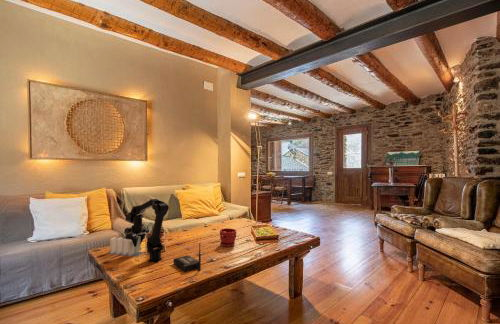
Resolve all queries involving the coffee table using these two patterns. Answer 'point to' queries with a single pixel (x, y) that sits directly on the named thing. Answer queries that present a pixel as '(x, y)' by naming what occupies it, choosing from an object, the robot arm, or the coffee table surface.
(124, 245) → the domino
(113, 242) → the end domino
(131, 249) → the domino
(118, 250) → the domino
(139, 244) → the sage domino
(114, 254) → the mat
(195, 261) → the black wifi router
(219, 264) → the coffee table surface
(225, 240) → the plant pot
